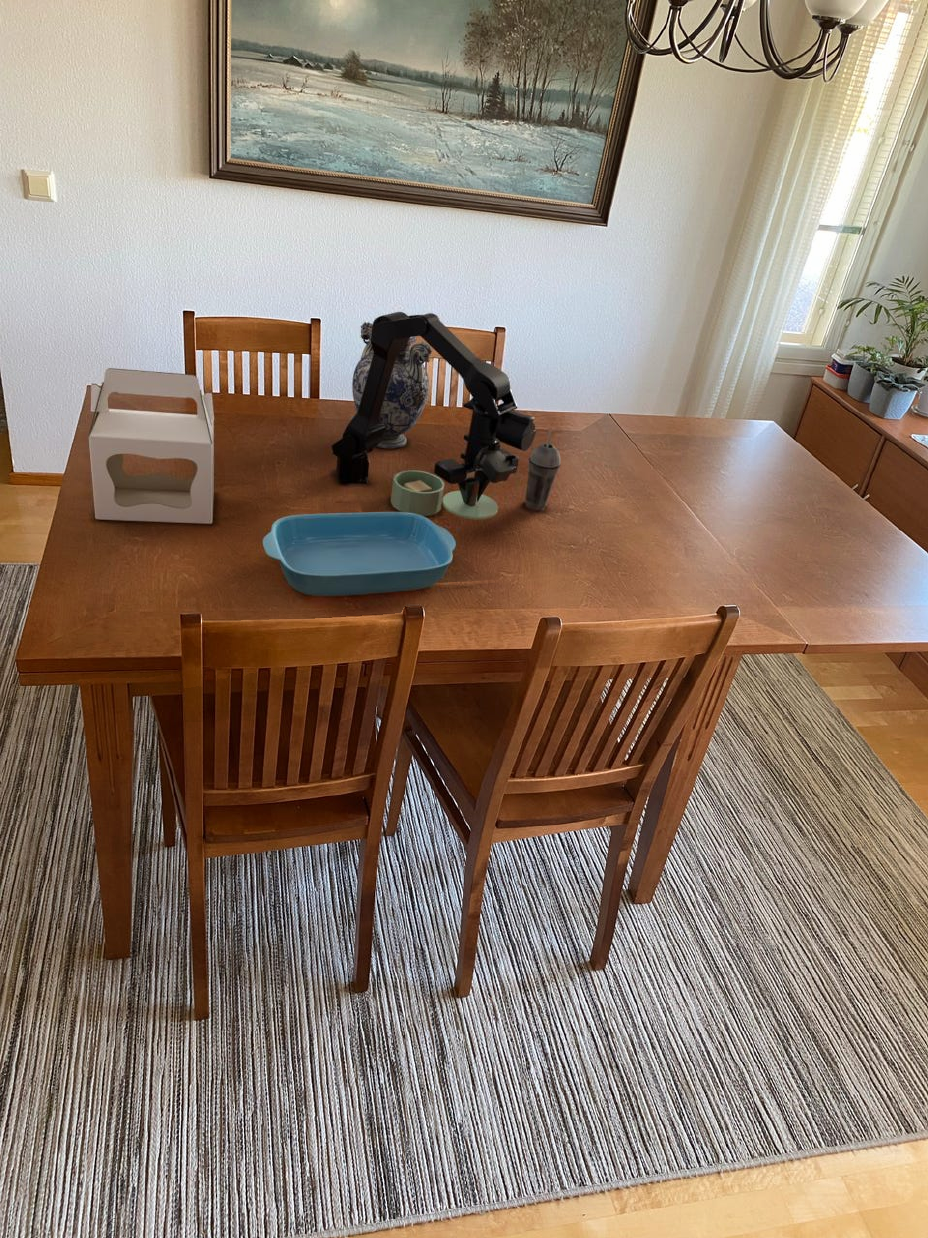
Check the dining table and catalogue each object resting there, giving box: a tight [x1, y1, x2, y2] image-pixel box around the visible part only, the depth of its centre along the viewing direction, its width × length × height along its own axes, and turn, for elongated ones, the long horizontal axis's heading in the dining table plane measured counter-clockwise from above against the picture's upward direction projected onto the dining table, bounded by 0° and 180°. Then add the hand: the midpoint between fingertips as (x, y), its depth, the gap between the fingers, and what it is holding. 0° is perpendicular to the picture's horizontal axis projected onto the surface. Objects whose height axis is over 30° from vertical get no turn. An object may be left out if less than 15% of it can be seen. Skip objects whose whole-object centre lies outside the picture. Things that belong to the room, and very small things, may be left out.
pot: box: [390, 469, 446, 517], centre depth 197 cm, size 11×11×6 cm
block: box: [404, 480, 432, 492], centre depth 197 cm, size 4×4×4 cm
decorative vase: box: [351, 321, 433, 450], centre depth 218 cm, size 21×19×28 cm
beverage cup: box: [524, 427, 561, 512], centre depth 202 cm, size 7×7×20 cm
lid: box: [442, 481, 499, 520], centre depth 188 cm, size 12×12×6 cm
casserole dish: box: [262, 511, 457, 597], centre depth 170 cm, size 37×22×7 cm, turn 110°
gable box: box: [88, 367, 215, 525], centre depth 172 cm, size 22×13×28 cm, turn 102°
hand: (470, 502), depth 189 cm, fingers closed on lid, 2 cm apart
